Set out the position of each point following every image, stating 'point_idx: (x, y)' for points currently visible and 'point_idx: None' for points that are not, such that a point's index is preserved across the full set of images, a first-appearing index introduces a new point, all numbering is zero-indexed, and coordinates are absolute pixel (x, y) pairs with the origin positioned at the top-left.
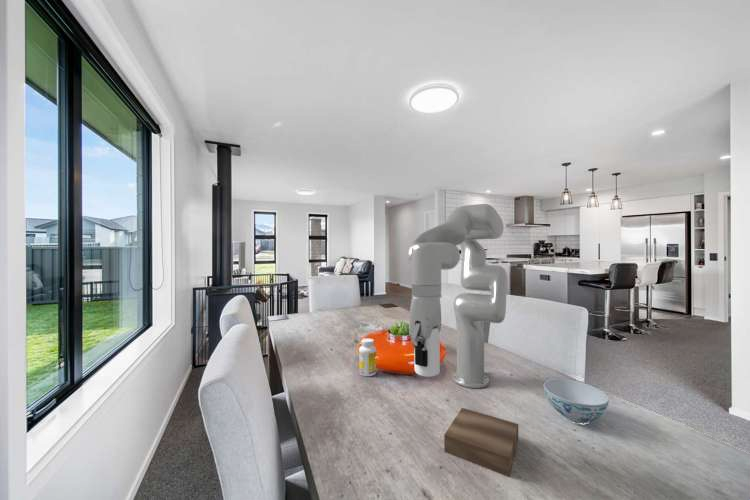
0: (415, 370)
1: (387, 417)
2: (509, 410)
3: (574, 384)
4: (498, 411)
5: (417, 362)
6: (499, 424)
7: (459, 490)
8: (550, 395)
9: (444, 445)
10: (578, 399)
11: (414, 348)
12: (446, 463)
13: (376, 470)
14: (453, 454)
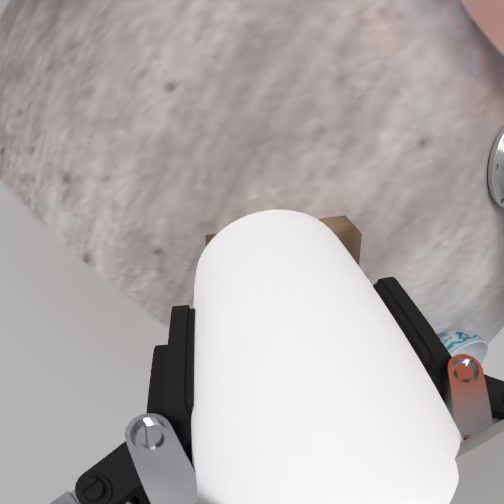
0: (206, 250)
1: (234, 30)
2: (429, 273)
3: (478, 358)
4: (419, 259)
5: (156, 346)
6: None
7: (136, 298)
8: None
9: (206, 242)
10: (460, 351)
11: (130, 426)
12: (175, 255)
13: (50, 162)
14: None
